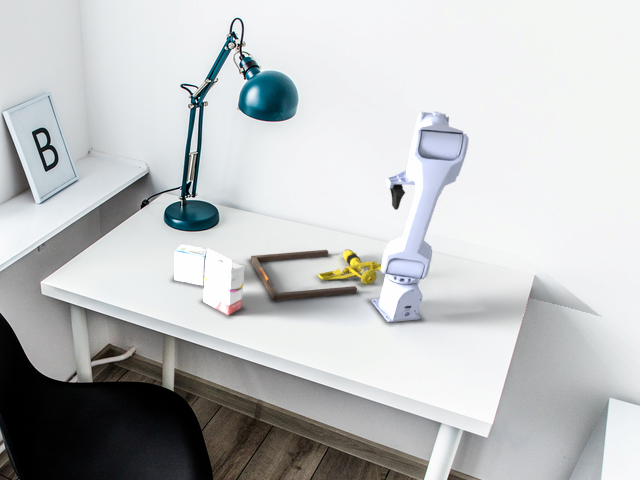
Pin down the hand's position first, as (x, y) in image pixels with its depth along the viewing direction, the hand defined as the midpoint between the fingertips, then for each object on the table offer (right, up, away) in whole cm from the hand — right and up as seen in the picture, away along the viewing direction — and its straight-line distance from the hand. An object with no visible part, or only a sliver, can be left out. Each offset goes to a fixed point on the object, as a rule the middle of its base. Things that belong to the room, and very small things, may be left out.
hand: (409, 204), depth 167 cm
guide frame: (-27, -18, +2) cm, 32 cm away
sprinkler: (-14, -17, +3) cm, 22 cm away
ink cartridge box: (-49, -26, -8) cm, 56 cm away
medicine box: (-56, -19, +2) cm, 59 cm away
